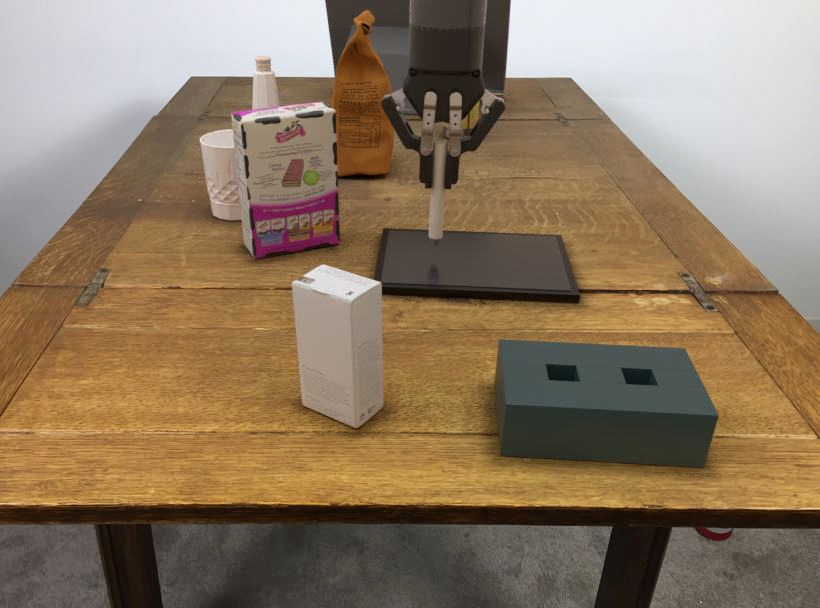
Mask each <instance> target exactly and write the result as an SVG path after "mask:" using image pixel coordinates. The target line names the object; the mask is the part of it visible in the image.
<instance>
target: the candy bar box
mask: <svg viewBox="0 0 820 608" xmlns="http://www.w3.org/2000/svg"><path fill="white" fill-rule="evenodd" d="M230 118H231V129H233V138H234V148H235V158H236V169H237V179H238V190H239V199H240V210H241V220H240V221H241V227H242V237H243V245H244V246H245V248H246V250H247V251H249V253H250V255H251V256H252V257H253V259H254V260H258V259H264V258H270V257H275V256H280V255H286V254H287V255H288V254H291V253H298V252H303V251H308V250H313V249H317V248H318V249H319V248H324V247H329V246H334V245H335V246H336V245H338V244H340V243H341V233H340V232H341V227H340V226H341V225H340V200H339V199H340V198H339V197H340V196H339V176H338V164H337V135H336V110H334V109H332V108H331V106H330V105H328V104H327V103H325V102H324V101H315V102H305V103H296V104H287V105H280V106H278V107H270V108H262V109H253V110H252V109H247V110H237V111H231V112H230Z"/></svg>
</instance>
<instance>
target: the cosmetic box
mask: <svg viewBox="0 0 820 608" xmlns="http://www.w3.org/2000/svg"><path fill="white" fill-rule="evenodd" d="M291 291H292V303H293V313H294V325H295V336H296V347H297V348H296V350H297V360H298V370H299V382H300V395H301V405H302V406H303V407H305V408H308V409H310V410H313V411H315V412H317V413H319V414H322V415H324V416H327V417H328V418H331V419H333V420H336V421H338V422H340V423H342V424H344V425H347V426H349V427H352V428H354V429H358V428H359V427H361V426H363V425H364V424H365V423H367V422H368V421H369V420H370V419H371V418H372V417H374V416H375V415H376V414H377V413H379V411H381V410H382V409H383V407H384V404H385V403H384V399H385V398H384V350H383V349H384V348H383V346H384V345H383V344H384V343H383V294H382V284H381V282H379V281H375V280H374V279H371V278H369V277H365V276H362V275H359V274H355V273H352V272H350V271H346V270H343V269H340V268H337V267H333V266H330V265H327V264H325V263H324V264H321V265H318V266H317V267H315V268H313V269H312V270H310V271H309V272H307V273H304V274H303V275H301V276H300V277H299V278H297V279H295V280H293V281H292V282H291Z"/></svg>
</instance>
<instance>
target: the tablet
mask: <svg viewBox="0 0 820 608" xmlns="http://www.w3.org/2000/svg"><path fill="white" fill-rule="evenodd" d="M373 280H375V281H379V282H381V284H382V296H383V295H384V296H385V295H386V296H387V295H388V296H409V297H432V298H452V299H453V298H454V299H475V300H477V299H479V300H495V301H496V300H497V301H498V300H499V301H522V302H543V303H545V302H546V303H564V304H566V303H567V304H579V303H580V298H581V293H580V290H579V287H578V283H577V281H576V278H575V274H574V271H573V268H572V265H571V262H570V259H569V254H568V252H567V248H566V245H565V242H564V239H563V236H562V234H547V233H546V234H545V233H524V232H523V233H521V232H520V233H519V232H495V231H494V232H493V231H469V230H468V231H467V230H444V229H443V237H442V238H441V239H439V245H438V246H432V245H431V238H429V229H417V228H415V229H414V228H390V227H389V228H388V227H383V228H382V232H381V238H380V244H379V249H378V254H377V260H376V265H375V271H374V277H373Z"/></svg>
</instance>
